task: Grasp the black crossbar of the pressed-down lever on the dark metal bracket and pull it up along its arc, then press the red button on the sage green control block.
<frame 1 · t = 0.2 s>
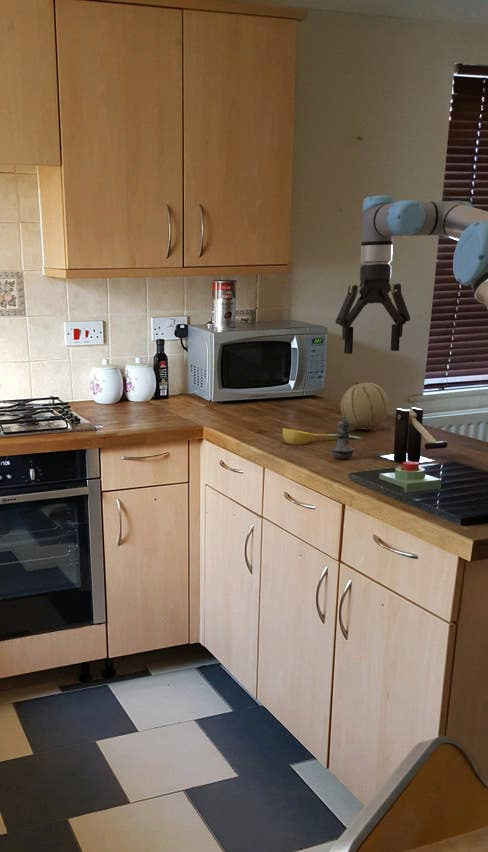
hand: (371, 352, 223), 27 cm above the countertop, tool pointing down, fingers open, 13 cm apart
bracket: (406, 463, 224), on the countertop
ladle: (325, 445, 252), on the countertop
cantaloupe: (363, 430, 274), on the countertop
button: (410, 466, 199), point 4 cm above the countertop, slide at 0.1 cm
control block: (409, 486, 200), on the countertop
grey chess piece: (342, 463, 227), on the countertop
lever: (421, 429, 216), point 9 cm above the countertop, hinge at -25.0°
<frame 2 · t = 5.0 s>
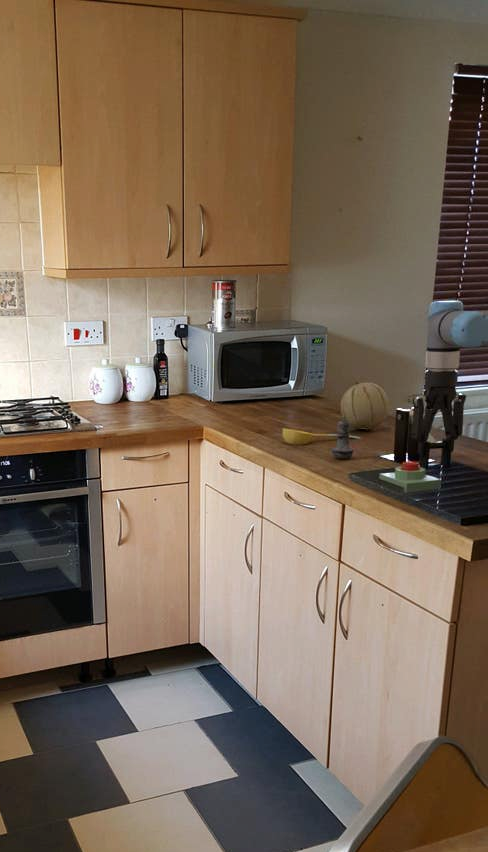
hand: (434, 466, 213), 1 cm above the countertop, tool pointing down, fingers closed on lever, 5 cm apart
lever: (421, 429, 216), point 9 cm above the countertop, hinge at -25.0°, touching gripper
everything else where it was.
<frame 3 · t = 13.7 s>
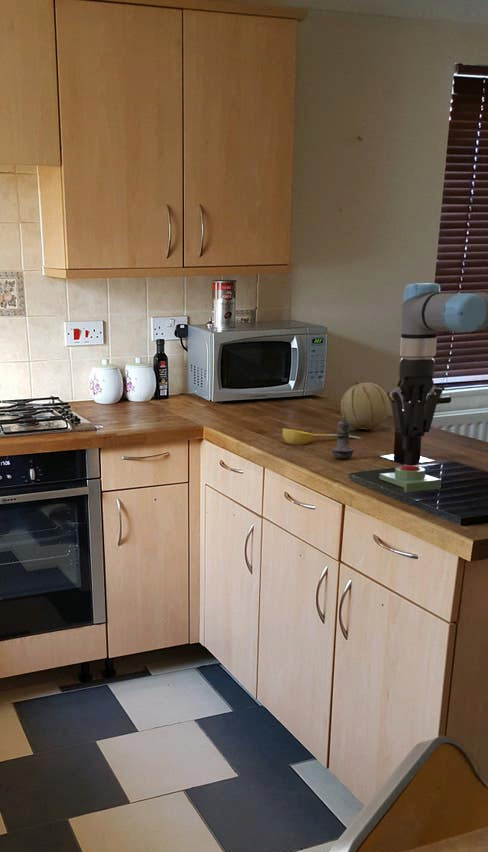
hand: (410, 464, 199), 5 cm above the countertop, tool pointing down, fingers closed
button: (410, 469, 199), point 4 cm above the countertop, slide at -0.5 cm, touching gripper
lever: (423, 409, 214), point 15 cm above the countertop, hinge at 24.1°
everything else where it was.
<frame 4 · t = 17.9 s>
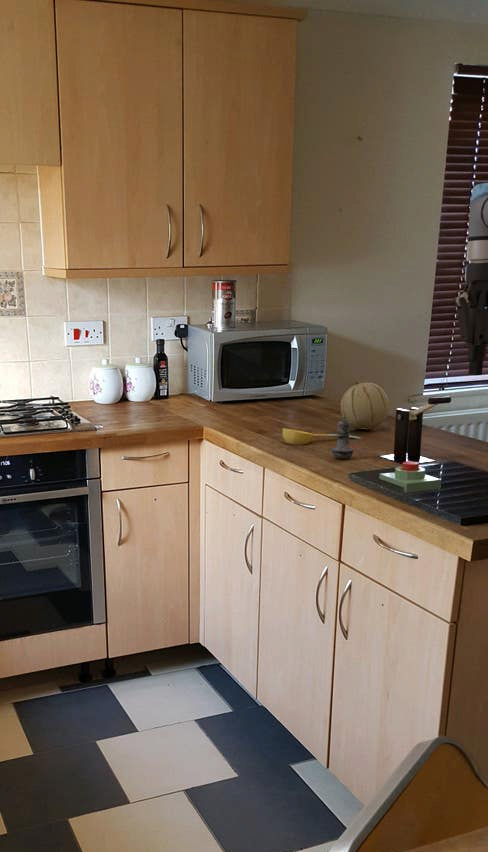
hand: (475, 374, 195), 24 cm above the countertop, tool pointing down, fingers closed
button: (410, 466, 199), point 4 cm above the countertop, slide at 0.1 cm
everything else where it was.
at the end: lever at +24° (first picture: -25°); button pushed in 1.0 cm at the most during the clip, back to where it started at the end; button slide at 0.1 cm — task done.
